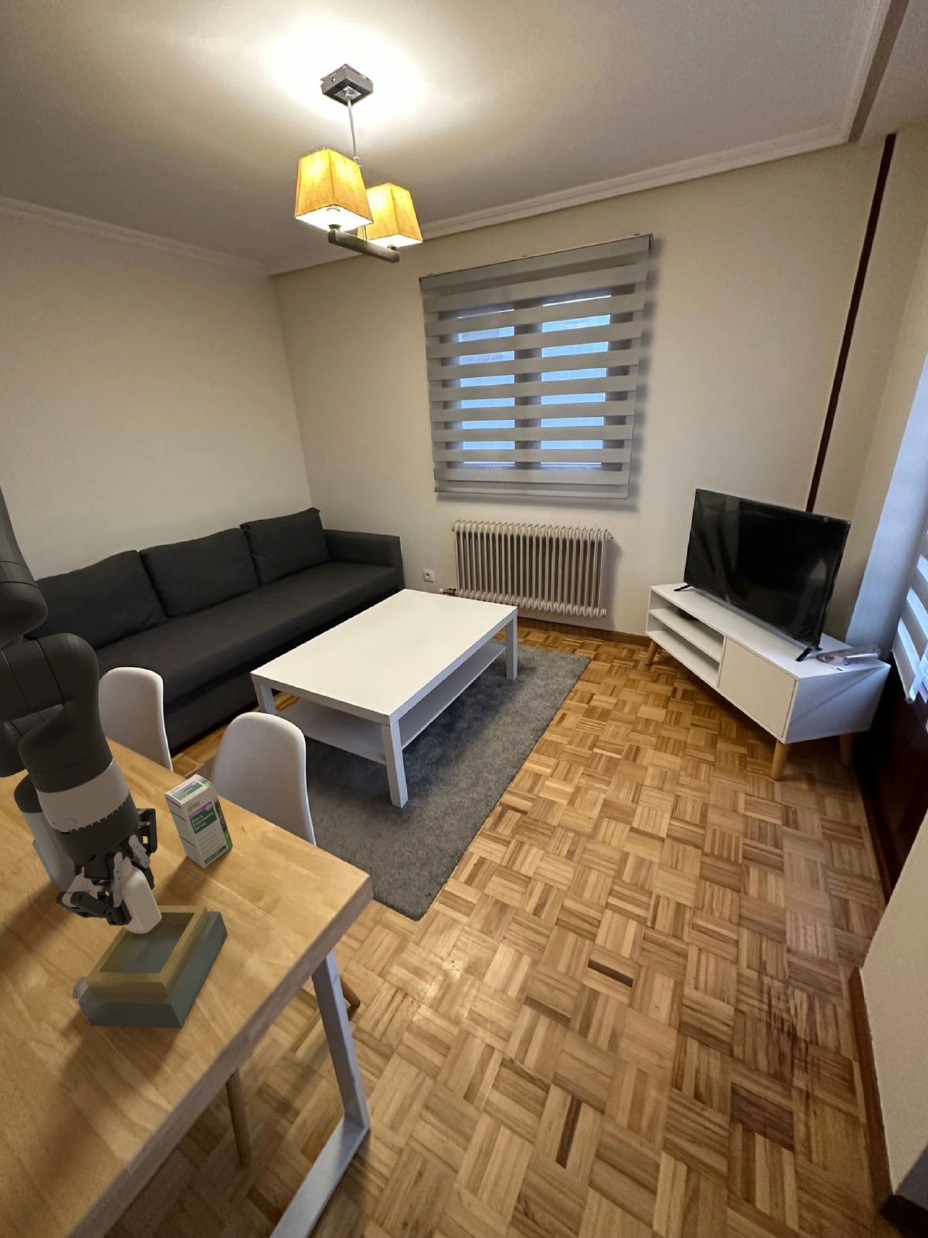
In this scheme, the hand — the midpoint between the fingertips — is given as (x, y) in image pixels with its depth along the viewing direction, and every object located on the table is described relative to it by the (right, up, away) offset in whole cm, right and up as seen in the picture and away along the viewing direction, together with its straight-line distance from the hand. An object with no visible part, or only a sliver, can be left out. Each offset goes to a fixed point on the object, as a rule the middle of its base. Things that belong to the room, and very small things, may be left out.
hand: (134, 905), depth 61 cm
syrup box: (-4, -5, +25) cm, 26 cm away
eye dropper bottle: (0, -3, +1) cm, 3 cm away
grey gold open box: (-1, -13, +6) cm, 14 cm away
